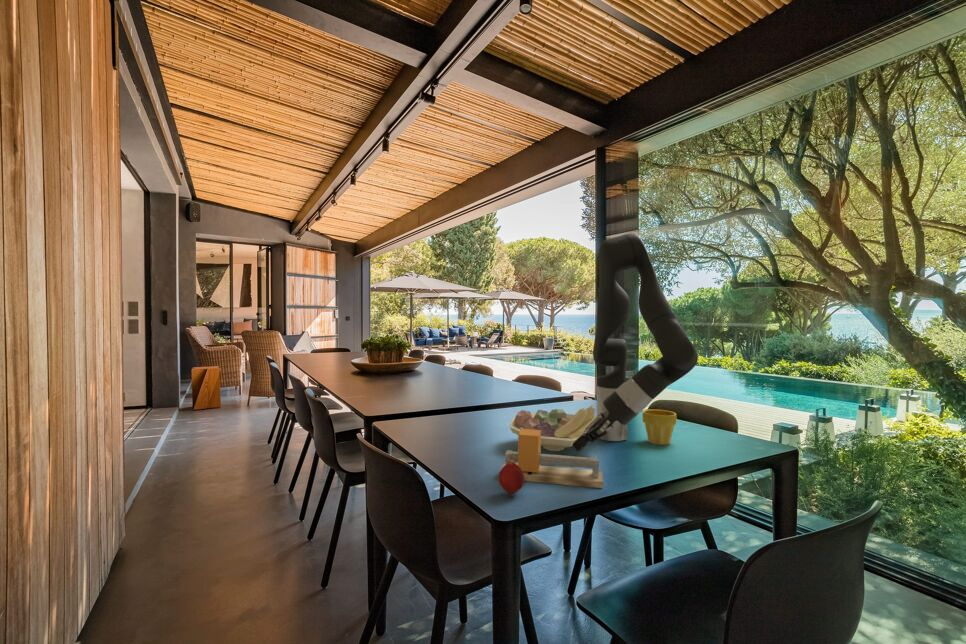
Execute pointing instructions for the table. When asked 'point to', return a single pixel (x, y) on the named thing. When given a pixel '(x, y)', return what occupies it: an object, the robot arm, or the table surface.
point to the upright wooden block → (529, 450)
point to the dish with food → (554, 426)
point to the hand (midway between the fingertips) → (575, 447)
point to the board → (564, 476)
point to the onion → (511, 478)
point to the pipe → (561, 461)
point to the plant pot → (659, 425)
